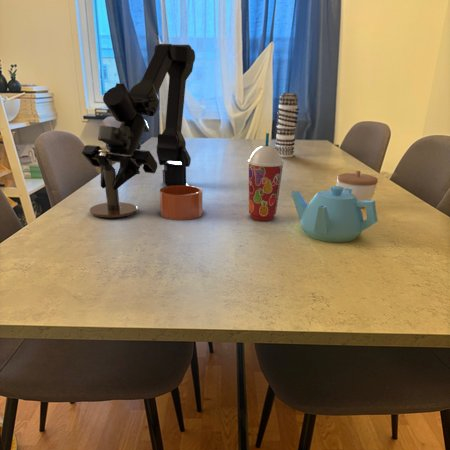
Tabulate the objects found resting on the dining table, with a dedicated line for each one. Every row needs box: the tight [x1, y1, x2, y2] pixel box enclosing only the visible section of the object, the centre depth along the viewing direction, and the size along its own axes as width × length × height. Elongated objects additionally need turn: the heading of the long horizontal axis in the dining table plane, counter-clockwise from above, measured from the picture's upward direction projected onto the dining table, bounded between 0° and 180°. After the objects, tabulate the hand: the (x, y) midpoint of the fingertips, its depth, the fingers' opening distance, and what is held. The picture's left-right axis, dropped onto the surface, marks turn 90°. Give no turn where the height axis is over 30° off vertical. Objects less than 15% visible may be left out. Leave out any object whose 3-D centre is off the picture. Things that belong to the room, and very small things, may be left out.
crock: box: [158, 184, 203, 221], centre depth 109 cm, size 11×11×6 cm
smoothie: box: [247, 132, 284, 222], centre depth 104 cm, size 8×8×20 cm
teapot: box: [290, 185, 379, 243], centre depth 96 cm, size 15×15×11 cm
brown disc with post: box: [89, 168, 138, 219], centre depth 107 cm, size 12×12×11 cm
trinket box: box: [336, 170, 379, 209], centre depth 119 cm, size 11×11×9 cm
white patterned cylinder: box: [274, 92, 300, 158], centre depth 186 cm, size 9×9×25 cm
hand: (108, 188), depth 105 cm, fingers open, 3 cm apart
